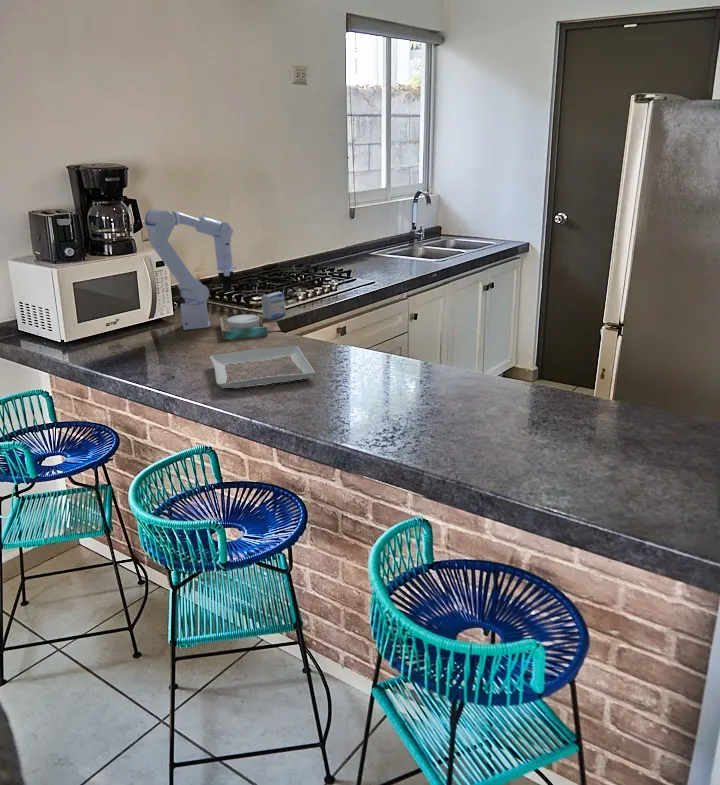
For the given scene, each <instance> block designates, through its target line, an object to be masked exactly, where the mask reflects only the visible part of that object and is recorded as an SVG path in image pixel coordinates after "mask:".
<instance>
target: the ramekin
mask: <svg viewBox="0 0 720 785" xmlns="http://www.w3.org/2000/svg"><path fill="white" fill-rule="evenodd" d="M226 322H227V325H228V330H236V329H246V328H255V327H260V324H259V317H258V315H255V314H239V315H238V314H237V315H232V316H230V317H228V318H227V319H226Z"/></svg>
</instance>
